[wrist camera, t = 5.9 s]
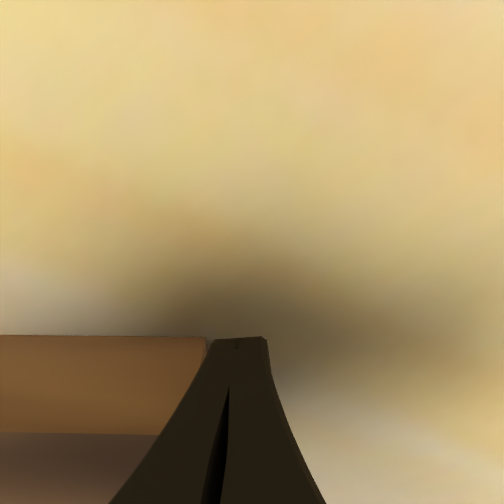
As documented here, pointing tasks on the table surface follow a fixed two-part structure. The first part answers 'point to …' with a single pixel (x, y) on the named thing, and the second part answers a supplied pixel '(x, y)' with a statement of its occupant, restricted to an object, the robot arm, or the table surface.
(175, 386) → the walnut bar
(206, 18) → the table surface
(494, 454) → the table surface
